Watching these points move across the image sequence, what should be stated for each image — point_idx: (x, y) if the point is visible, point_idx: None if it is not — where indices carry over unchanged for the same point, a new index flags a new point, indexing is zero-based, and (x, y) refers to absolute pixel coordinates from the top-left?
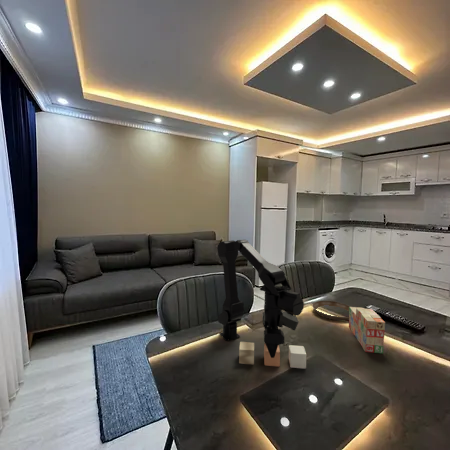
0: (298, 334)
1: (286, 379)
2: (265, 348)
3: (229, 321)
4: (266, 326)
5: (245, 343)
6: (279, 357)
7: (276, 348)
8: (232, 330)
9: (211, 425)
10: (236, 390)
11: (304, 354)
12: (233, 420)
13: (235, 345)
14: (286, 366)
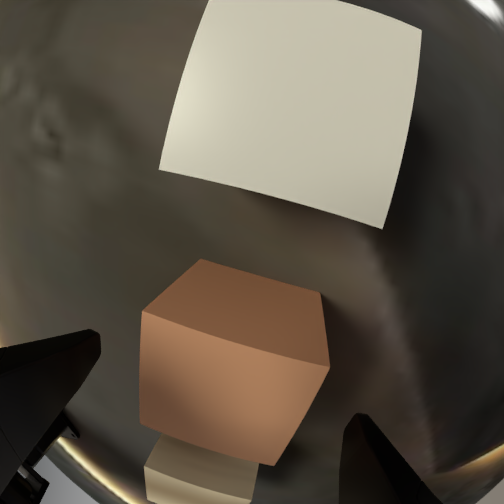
0: (7, 52)
1: (457, 296)
2: (227, 450)
3: (31, 489)
4: (1, 466)
5: (161, 494)
6: (323, 334)
7: (430, 498)
8: (43, 445)
9: (467, 495)
10: None
11: (418, 50)
12: (487, 470)
13: (99, 425)
14: (329, 235)
